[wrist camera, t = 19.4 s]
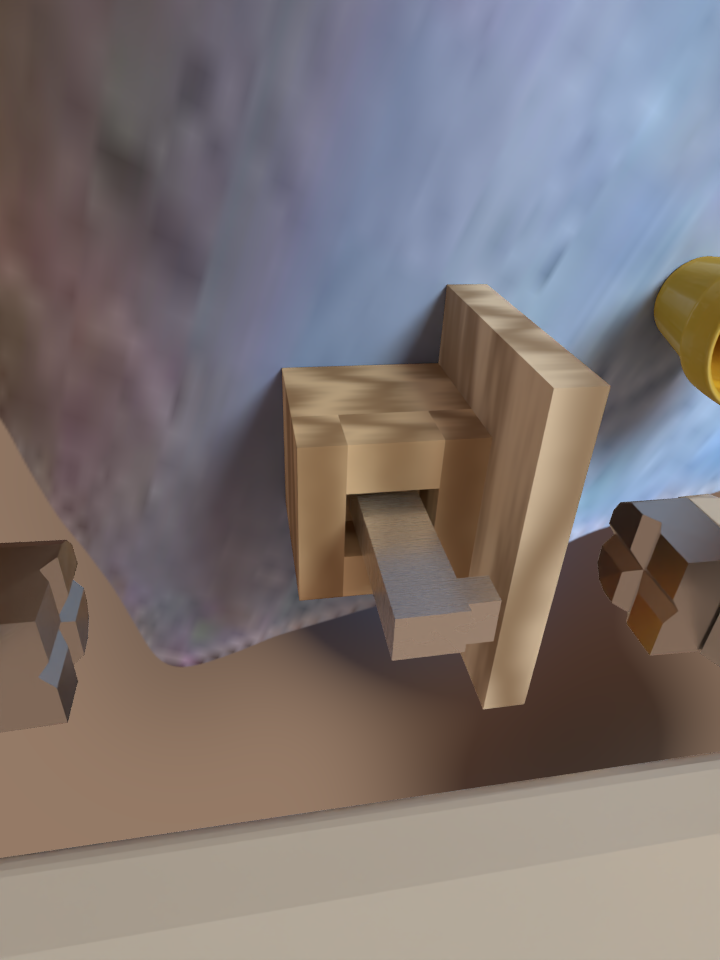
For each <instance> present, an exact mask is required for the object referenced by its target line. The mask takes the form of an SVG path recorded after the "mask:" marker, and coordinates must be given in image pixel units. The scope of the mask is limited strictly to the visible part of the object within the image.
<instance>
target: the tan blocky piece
mask: <svg viewBox="0 0 720 960" xmlns="http://www.w3.org/2000/svg"><path fill="white" fill-rule="evenodd" d="M282 386H283V421H284V457H285V492H286V507H287V514H288V521H289V529H290V536H291V543H292V550H293V557H294V565H295V572H296V579H297V586H298V593H299V601H301V600H311V599H322V598H333V597H343V596H354V595H365V594H373V591H372V588H371V584H370V581H369V577H368V574H367V570H366V567H365V563H364V560H363V556H362V552H361V549H360V545H359V542H358V538H357V535H356V531H355V528H354V524H353V520H352V517H351V513H350V510H349V494H362V493H377V492H392V491H407V490H417V492H418V494H419V496H420V498H421V501H422V503H423V505H424V507H425V509H426V512H427V514H428V516H429V518H430V520H431V523H432V525H433V527H434V529H435V531H436V534H437V536H438V538H439V540H440V542H441V545H442V547H443V549H444V551H445V553H446V556H447V558H448V560H449V562H450V564H451V567H452V569H453V571H454V573H455V575H456V578H467V577H477V576H487V575H489V577H490V579H491V581H492V583H493V585H494V587H495V589H496V591H497V593H498V595H499V597H500V598H501V600H502V601H501V606H500V611H499V616H498V621H497V626H496V631H495V636H494V641H491V642H482V643H474V644H466V648H465V652H460V653H461V655H462V658H463V660H464V663H465V665H466V668H467V670H468V673H469V675H470V677H471V680H472V682H473V685H474V687H475V690H476V693H477V695H478V698H479V700H480V703H481V705H482V707H483V709H488V708H496V707H503V706H512V705H520V704H524V703H525V699H526V695H527V691H528V688H529V684H530V680H531V677H532V673H533V670H534V666H535V662H536V658H537V655H538V651H539V648H540V644H541V640H542V636H543V632H544V629H545V625H546V622H547V618H548V614H549V611H550V607H551V603H552V600H553V596H554V592H555V589H556V585H557V581H558V578H559V574H560V570H561V566H562V563H563V559H564V556H565V552H566V548H567V544H568V541H569V537H570V534H571V530H572V526H573V523H574V519H575V515H576V512H577V508H578V504H579V501H580V497H581V493H582V490H583V486H584V482H585V479H586V475H587V471H588V467H589V464H590V460H591V456H592V453H593V449H594V445H595V442H596V438H597V434H598V431H599V427H600V423H601V420H602V416H603V412H604V409H605V405H606V401H607V398H608V394H609V390H610V387H611V386H610V385H609V384H608V383H606V382H605V381H604V380H603V379H602V378H600V377H599V376H598V375H597V374H595V373H594V372H593V371H592V370H591V369H589V368H588V367H587V366H586V365H584V364H583V363H582V362H581V361H580V360H578V359H577V358H576V357H575V356H573V355H572V354H571V353H570V352H569V351H567V350H566V349H565V348H564V347H563V346H561V345H560V344H559V343H558V342H556V341H555V340H554V339H553V338H552V337H550V336H549V335H548V334H547V333H545V332H544V331H543V330H542V329H541V328H539V327H538V326H537V325H536V324H535V323H533V322H532V321H531V320H530V319H528V318H527V317H526V316H525V315H524V314H522V313H521V312H520V311H519V310H517V309H516V308H515V307H514V306H513V305H511V304H510V303H509V302H508V301H506V300H505V299H504V298H503V297H502V296H500V295H499V294H498V293H497V292H496V291H494V290H493V289H492V288H491V287H489V286H488V285H487V284H463V285H447V290H446V299H445V308H444V317H443V326H442V335H441V344H440V353H439V362H438V363H426V364H394V365H362V366H331V367H299V368H282Z"/></svg>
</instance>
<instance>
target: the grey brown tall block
mask: <svg viewBox="0 0 720 960" xmlns="http://www.w3.org/2000/svg"><path fill="white" fill-rule="evenodd" d="M349 510H350V513H351V517H352V520H353V524H354V528H355V531H356V535H357V538H358V542H359V545H360V549H361V552H362V556H363V560H364V563H365V567H366V570H367V574H368V577H369V581H370V584H371V588H372V591H373V595H374V599H375V602H376V606H377V609H378V612H379V616H380V620H381V623H382V627H383V631H384V634H385V638H386V641H387V645H388V648H389V652H390V655H391V659H392V661H393V660H401V659H409V658H418V657H426V656H434V655H443V654H451V653H460V652H465V648H466V644H474V643H482V642H491V641H494V636H495V631H496V626H497V621H498V616H499V611H500V606H501V601H502V600H501V598H500V597H499V595H498V593H497V591H496V589H495V587H494V585H493V583H492V581H491V579H490V577H489V575H487V576H477V577H467V578H456V575H455V573H454V571H453V569H452V567H451V564H450V562H449V560H448V558H447V556H446V553H445V551H444V549H443V547H442V545H441V542H440V540H439V538H438V536H437V534H436V531H435V529H434V527H433V525H432V523H431V520H430V518H429V516H428V514H427V512H426V509H425V507H424V505H423V503H422V501H421V498H420V496H419V494H418V492H417V490H407V491H392V492H377V493H362V494H349Z"/></svg>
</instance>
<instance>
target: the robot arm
mask: <svg viewBox="0 0 720 960" xmlns="http://www.w3.org/2000/svg"><path fill="white" fill-rule="evenodd" d="M609 524H610V526H611V528H612V530H613V532H614V535H613V536H612V537H611V538H610V539H609V540H608V541H606V542H605V543H604V544H603V545H602V548H601V551H600V555H599V559H598V573H599V574H598V575H599V581H600V583H601V586H602V588H603V591H604V593H605V594H606V595H607V597H608V598H609V600H610V601H611V603H613V604H615V605H616V606H618V607H620V608H622V609H623V610H625V611H627V612H628V615H627V622H626V624H627V625H628V626H629V628H630V629H631V630H632V632H633V633H634V635H635V636H636V637H637V639H638V640H639V641H640V643H641V644H642V646H643V647H644V648H645V650H646V651H647V652H648V654H649V655H660V654H672V653H684V652H695V651H701V653H700V654H701V655H703V656H704V657H706V658H707V659H709V660H710V661H712V662H713V663H714V664H716V665H717V666H719V667H720V498H718V497H715V496H712V495H710V494H703V495H693V496H683V497H678V498H672V499H658V500H645V501H631V502H620V503H619V505H618V506H617V507H616V508H615V509H614V511H613V514H612V517H611V520H610V523H609ZM76 568H77V560H76V556H75V553H74V549H73V546H72V544H71V543H69V542H68V541H67V540H56V541H35V542H15V543H0V732H6V731H13V730H21V729H28V728H35V727H41V726H48V725H56V724H63V723H68V720H69V716H70V711H71V707H72V703H73V699H74V695H75V691H76V687H77V683H78V680H77V677H76V672H75V669H74V664H75V663H76V662H77V661H78V660H79V659H80V658H81V657H82V656H84V653H85V649H86V644H87V639H88V623H89V622H88V621H89V615H88V606H87V599H86V595H85V591H84V588H83V587H82V586H80V585H79V584H77V583H76V582H75V581H74V580H73V578H74V575H75V571H76ZM0 960H720V752H714V753H708V754H701V755H694V756H687V757H681V758H674V759H667V760H662V761H655V762H647V763H641V764H634V765H627V766H620V767H614V768H607V769H601V770H594V771H587V772H580V773H574V774H567V775H561V776H554V777H546V778H540V779H533V780H526V781H519V782H512V783H506V784H499V785H492V786H485V787H479V788H472V789H465V790H458V791H452V792H445V793H438V794H431V795H425V796H417V797H410V798H404V799H397V800H390V801H383V802H377V803H370V804H363V805H356V806H349V807H343V808H336V809H329V810H322V811H316V812H309V813H302V814H295V815H288V816H282V817H275V818H269V819H261V820H255V821H248V822H241V823H234V824H227V825H221V826H214V827H207V828H201V829H194V830H187V831H181V832H174V833H167V834H160V835H153V836H146V837H140V838H133V839H126V840H120V841H113V842H106V843H99V844H92V845H86V846H79V847H72V848H65V849H59V850H52V851H45V852H38V853H31V854H25V855H18V856H11V857H5V858H0Z"/></svg>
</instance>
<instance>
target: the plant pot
mask: <svg viewBox="0 0 720 960" xmlns="http://www.w3.org/2000/svg"><path fill="white" fill-rule="evenodd" d="M654 319H655V323H656V326H657V328H658V329H659V331H660V332H661V333H662V335H663V336H664V337H665V338H666V340H667V341H668V342H669V343H670V345H671V346H672V347H673V349H674V350H675V351H676V352H677V354H678V355H679V356H680V361H681V366H682V369H683V371H684V373H685V375H686V377H687V378H688V380H689V381H690V382H691V383H692V384H693V385H694V386H695V387H696V388H697V389H698V390H700V391H701V392H702V393H703V394H705V395H706V396H707V397H709V398H710V399H712V400H713V401H715V402H716V403H717V404H719V405H720V257H712V256H707V257H700V258H696V259H693V260H691V261H689V262H687V263H685V264H683V265H682V266H680V267H679V268H678V269H676V270H675V271H674V272H673V273H672V274H671V275H670V276H669V277H668V278H667V280H666V281H665V282H664V284H663V286H662V287H661V289H660V291H659V293H658V295H657V298H656V301H655V305H654Z"/></svg>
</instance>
